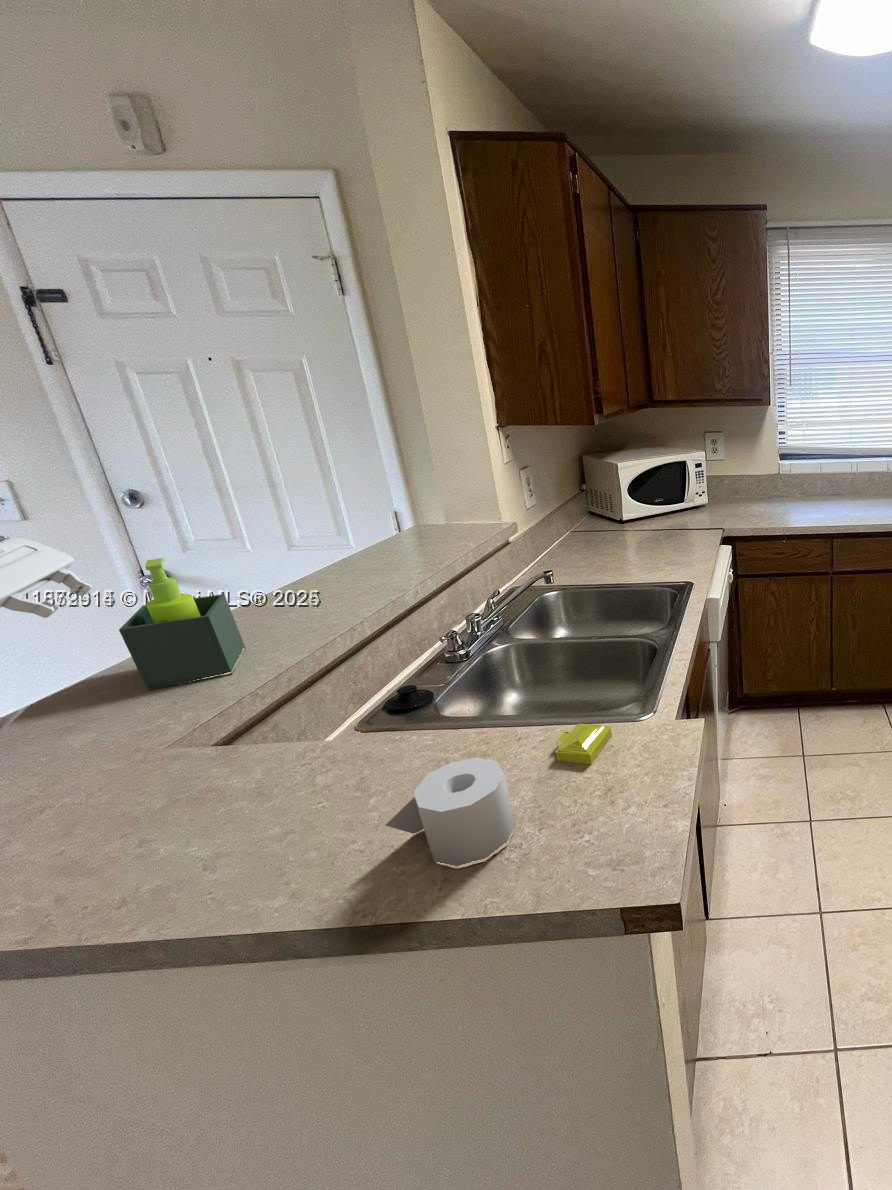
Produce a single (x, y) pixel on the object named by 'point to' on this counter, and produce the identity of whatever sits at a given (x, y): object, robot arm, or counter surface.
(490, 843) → the toilet tissue
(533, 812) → the counter surface
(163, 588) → the soap dispenser
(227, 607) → the trash bin
